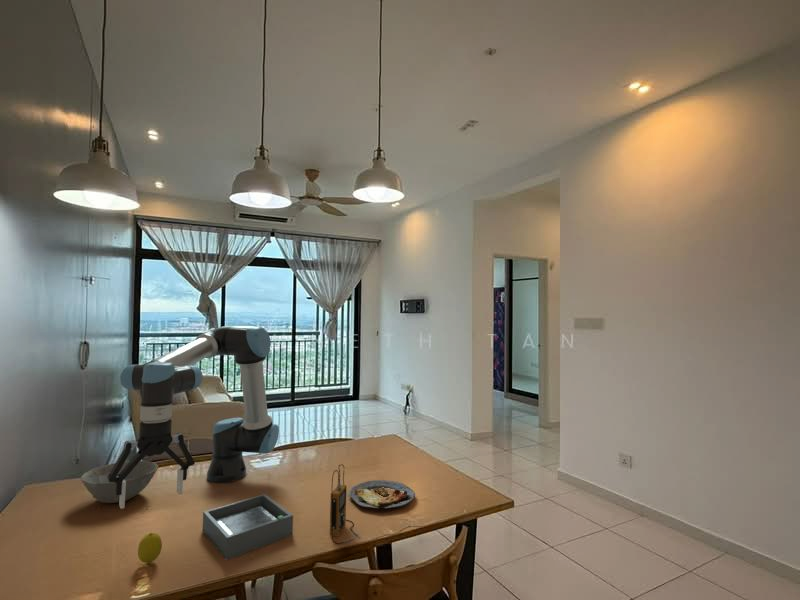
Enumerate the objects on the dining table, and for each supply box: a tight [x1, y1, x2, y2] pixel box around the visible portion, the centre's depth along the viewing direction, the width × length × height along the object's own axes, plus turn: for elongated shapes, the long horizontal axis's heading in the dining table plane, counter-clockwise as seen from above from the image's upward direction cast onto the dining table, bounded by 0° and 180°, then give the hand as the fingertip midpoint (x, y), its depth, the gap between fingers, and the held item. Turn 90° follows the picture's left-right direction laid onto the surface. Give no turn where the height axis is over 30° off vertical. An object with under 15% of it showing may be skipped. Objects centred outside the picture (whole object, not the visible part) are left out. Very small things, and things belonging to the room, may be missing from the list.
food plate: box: [348, 479, 416, 510], centre depth 153 cm, size 25×23×4 cm
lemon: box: [137, 532, 163, 565], centre depth 110 cm, size 6×6×8 cm
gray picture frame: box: [216, 506, 276, 535], centre depth 126 cm, size 15×15×1 cm
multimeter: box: [329, 464, 362, 545], centre depth 128 cm, size 15×10×20 cm
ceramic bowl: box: [80, 459, 159, 504], centre depth 148 cm, size 22×23×10 cm
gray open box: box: [202, 493, 294, 561], centre depth 126 cm, size 20×20×7 cm
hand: (151, 499), depth 110 cm, fingers open, 13 cm apart
